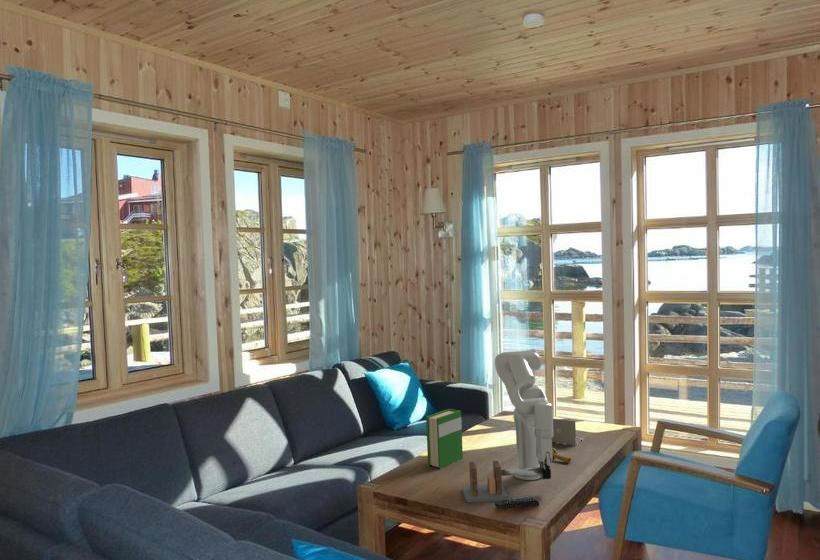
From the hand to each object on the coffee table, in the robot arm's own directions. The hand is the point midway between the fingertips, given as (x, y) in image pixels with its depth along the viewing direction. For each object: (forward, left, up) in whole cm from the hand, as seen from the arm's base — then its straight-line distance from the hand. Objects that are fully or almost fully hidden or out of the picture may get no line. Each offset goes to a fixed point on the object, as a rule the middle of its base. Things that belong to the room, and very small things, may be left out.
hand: (545, 475), depth 259 cm
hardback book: (+38, -43, -7) cm, 58 cm away
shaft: (+9, 0, -1) cm, 9 cm away
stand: (+25, 0, -5) cm, 26 cm away
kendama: (-13, -40, -7) cm, 43 cm away
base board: (+25, 0, -7) cm, 26 cm away
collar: (+23, 0, -5) cm, 23 cm away
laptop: (-26, -70, -7) cm, 75 cm away
